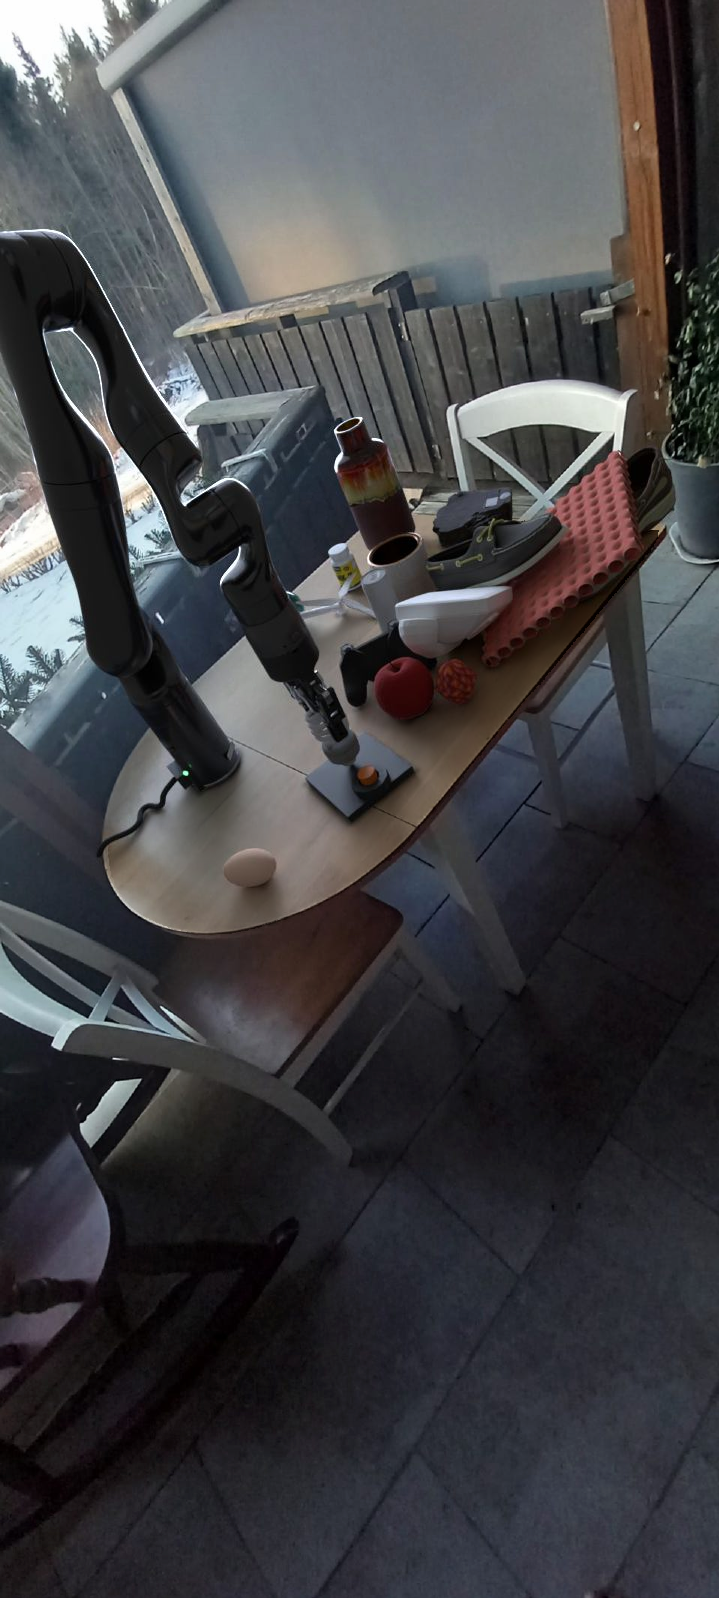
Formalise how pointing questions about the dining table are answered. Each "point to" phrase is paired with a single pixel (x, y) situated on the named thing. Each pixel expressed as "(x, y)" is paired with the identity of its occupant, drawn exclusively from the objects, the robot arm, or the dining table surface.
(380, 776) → the push button pad
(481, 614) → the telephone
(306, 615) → the wind turbine
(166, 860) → the dining table surface
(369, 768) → the button
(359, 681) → the game controller
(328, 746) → the light bulb
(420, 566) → the planter
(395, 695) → the apple
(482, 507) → the rock sample
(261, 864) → the egg
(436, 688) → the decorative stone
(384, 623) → the beverage can
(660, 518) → the boat shoe
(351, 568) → the supplement bottle
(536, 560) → the boat shoe
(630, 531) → the egg carton
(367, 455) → the vase
